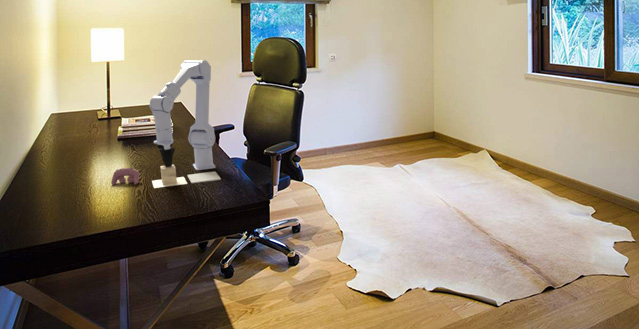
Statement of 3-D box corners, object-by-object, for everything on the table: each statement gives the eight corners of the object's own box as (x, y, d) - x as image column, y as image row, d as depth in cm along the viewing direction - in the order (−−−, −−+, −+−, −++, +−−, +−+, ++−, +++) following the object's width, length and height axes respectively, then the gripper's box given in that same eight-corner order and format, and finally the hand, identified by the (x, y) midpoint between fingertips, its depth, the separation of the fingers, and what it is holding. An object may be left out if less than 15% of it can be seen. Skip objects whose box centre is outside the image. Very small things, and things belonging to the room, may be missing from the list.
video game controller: (140, 186, 192) (141, 168, 194) (136, 184, 188) (137, 166, 189) (114, 187, 192) (115, 169, 193) (109, 185, 188) (110, 166, 189)
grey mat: (187, 176, 198) (187, 174, 198) (215, 172, 202) (215, 171, 202) (191, 183, 188) (191, 182, 188) (220, 180, 192) (220, 178, 192)
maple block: (161, 181, 192) (160, 166, 190) (175, 179, 194) (173, 164, 192) (163, 184, 187) (161, 169, 186) (177, 183, 189) (175, 167, 188)
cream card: (151, 181, 193) (151, 180, 193) (183, 177, 197) (183, 176, 197) (154, 188, 184) (154, 187, 184) (187, 184, 188) (187, 183, 188)
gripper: (150, 126, 190) (154, 161, 194) (154, 133, 177) (158, 170, 181) (170, 124, 193) (173, 158, 196) (174, 131, 180) (178, 167, 183)
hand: (167, 164), depth 189 cm, fingers open, 7 cm apart
